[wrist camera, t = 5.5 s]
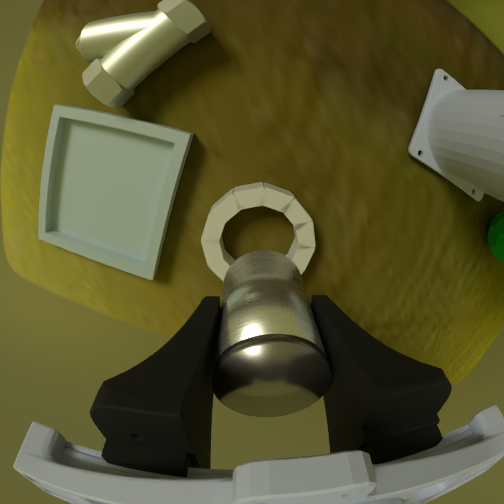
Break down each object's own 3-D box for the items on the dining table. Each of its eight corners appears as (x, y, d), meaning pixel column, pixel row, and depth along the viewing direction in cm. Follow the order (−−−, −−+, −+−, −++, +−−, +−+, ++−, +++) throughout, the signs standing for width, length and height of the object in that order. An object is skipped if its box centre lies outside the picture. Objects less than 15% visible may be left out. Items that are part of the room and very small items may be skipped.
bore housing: (326, 205, 20) (332, 211, 19) (286, 291, 23) (288, 302, 22) (224, 168, 19) (222, 172, 18) (194, 263, 22) (190, 274, 21)
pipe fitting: (82, 55, 15) (125, 109, 17) (53, 46, 12) (97, 105, 13) (162, -14, 13) (215, 35, 15) (145, -37, 10) (204, 13, 11)
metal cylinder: (314, 264, 14) (353, 357, 8) (283, 324, 16) (299, 422, 10) (238, 239, 14) (232, 331, 8) (214, 305, 15) (200, 405, 9)
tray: (194, 133, 18) (190, 134, 17) (157, 271, 22) (152, 280, 21) (64, 104, 16) (54, 104, 15) (46, 232, 21) (38, 238, 19)
